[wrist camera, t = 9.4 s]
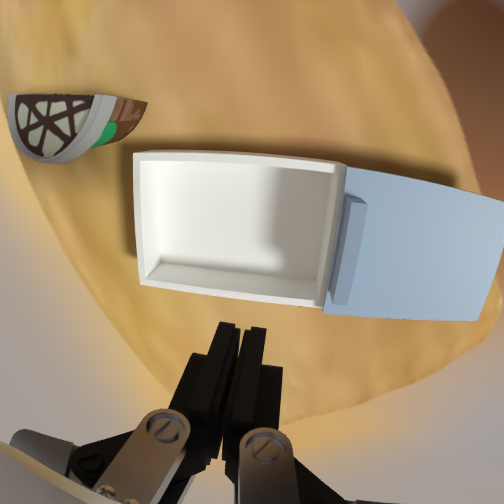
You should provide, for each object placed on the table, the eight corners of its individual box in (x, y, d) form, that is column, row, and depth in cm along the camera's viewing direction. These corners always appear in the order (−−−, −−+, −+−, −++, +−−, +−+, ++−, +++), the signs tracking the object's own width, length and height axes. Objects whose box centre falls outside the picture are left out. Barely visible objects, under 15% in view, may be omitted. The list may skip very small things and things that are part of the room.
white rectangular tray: (155, 149, 27) (133, 152, 22) (338, 161, 25) (348, 166, 21) (158, 265, 31) (140, 284, 27) (320, 284, 30) (324, 308, 26)
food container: (61, 146, 27) (-2, 158, 18) (70, 95, 25) (6, 93, 16) (147, 164, 27) (87, 180, 18) (160, 104, 25) (101, 94, 16)
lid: (345, 166, 21) (353, 169, 18) (510, 203, 19) (526, 211, 17) (322, 309, 25) (324, 326, 23) (474, 317, 24) (485, 331, 21)
